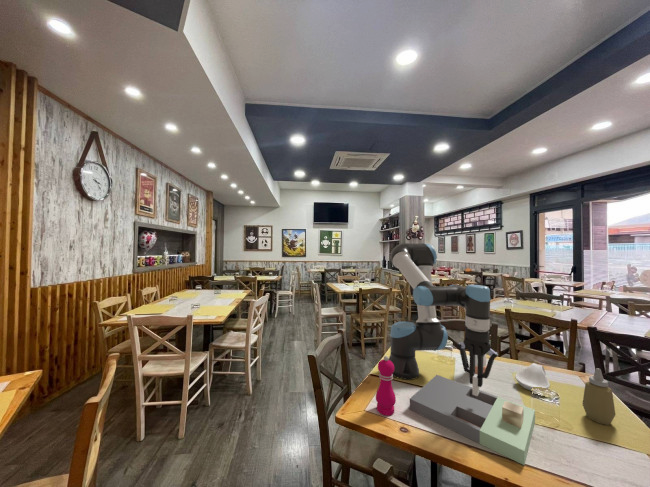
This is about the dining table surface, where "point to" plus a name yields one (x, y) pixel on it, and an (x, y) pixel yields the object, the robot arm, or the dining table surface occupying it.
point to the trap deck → (474, 416)
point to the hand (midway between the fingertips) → (475, 393)
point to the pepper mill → (385, 388)
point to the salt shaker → (477, 364)
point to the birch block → (512, 414)
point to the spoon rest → (533, 377)
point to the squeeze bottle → (598, 399)
